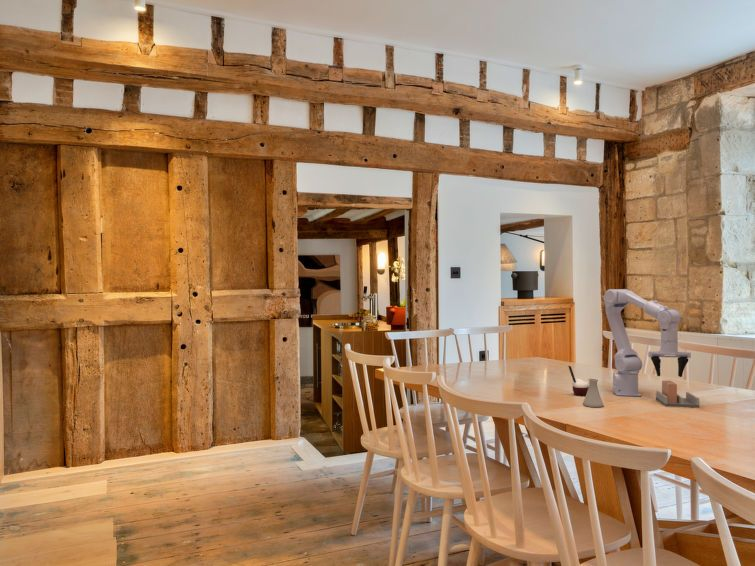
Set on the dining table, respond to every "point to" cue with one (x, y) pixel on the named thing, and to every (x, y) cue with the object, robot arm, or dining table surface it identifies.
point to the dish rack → (679, 400)
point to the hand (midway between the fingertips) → (669, 376)
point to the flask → (593, 395)
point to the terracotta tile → (670, 391)
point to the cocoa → (578, 385)
